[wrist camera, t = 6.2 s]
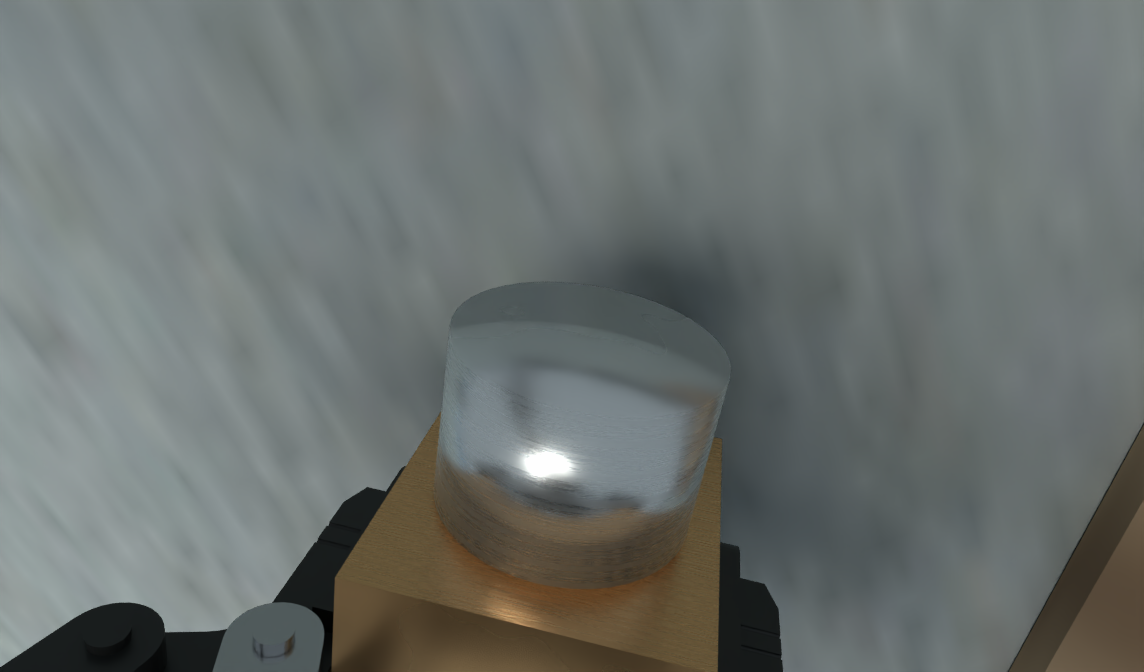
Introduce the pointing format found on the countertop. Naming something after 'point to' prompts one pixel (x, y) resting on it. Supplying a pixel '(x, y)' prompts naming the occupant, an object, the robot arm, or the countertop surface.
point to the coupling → (551, 498)
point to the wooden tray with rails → (1098, 589)
